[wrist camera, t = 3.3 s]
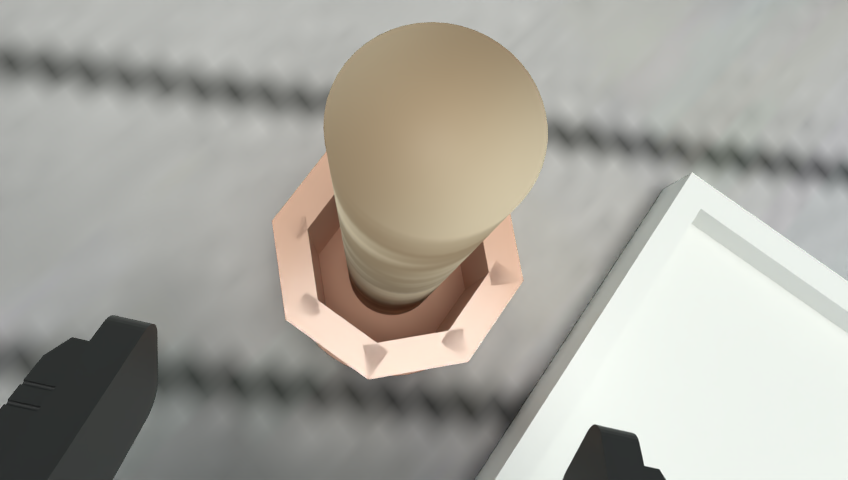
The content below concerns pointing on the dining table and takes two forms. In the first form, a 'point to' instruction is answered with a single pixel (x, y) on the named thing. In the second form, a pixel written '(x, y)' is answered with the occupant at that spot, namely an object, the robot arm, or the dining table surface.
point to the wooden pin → (427, 155)
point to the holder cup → (368, 330)
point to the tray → (699, 355)
